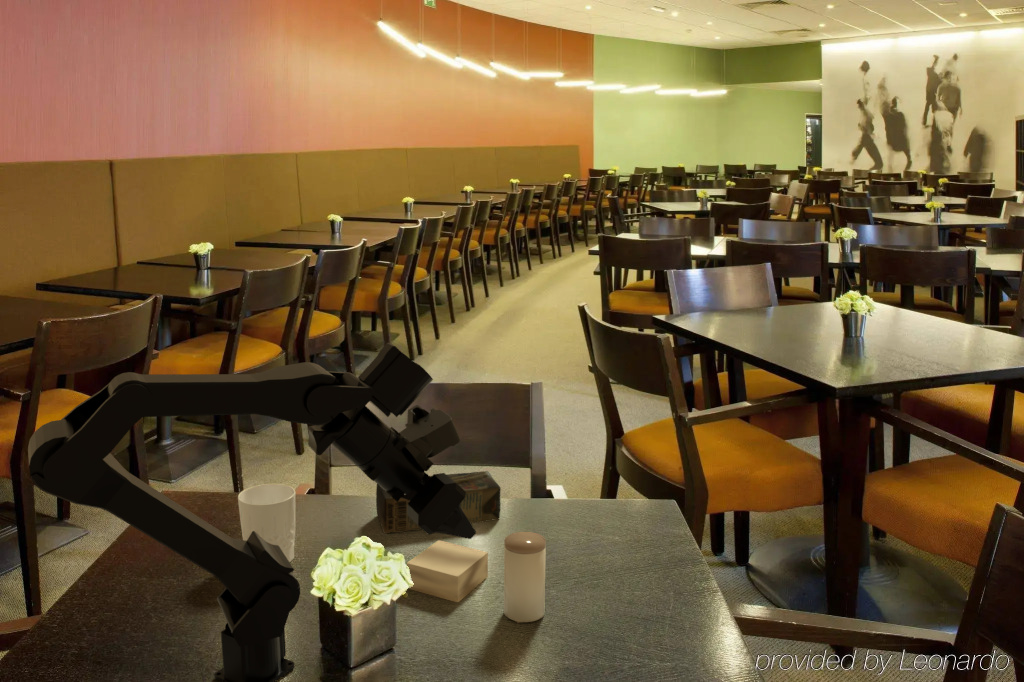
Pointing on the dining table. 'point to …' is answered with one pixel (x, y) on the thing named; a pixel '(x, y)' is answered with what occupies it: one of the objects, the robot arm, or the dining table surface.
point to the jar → (524, 576)
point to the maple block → (448, 570)
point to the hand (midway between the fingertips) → (457, 520)
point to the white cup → (269, 515)
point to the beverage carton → (475, 505)
